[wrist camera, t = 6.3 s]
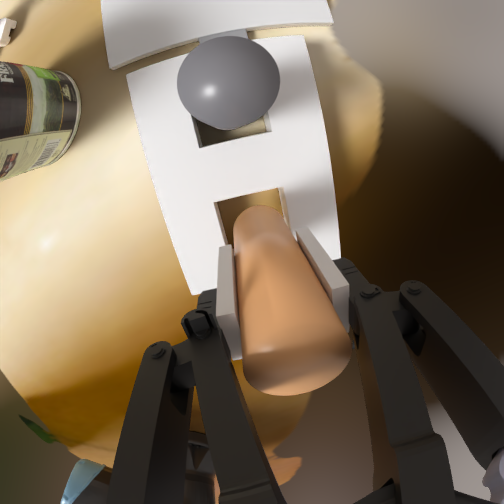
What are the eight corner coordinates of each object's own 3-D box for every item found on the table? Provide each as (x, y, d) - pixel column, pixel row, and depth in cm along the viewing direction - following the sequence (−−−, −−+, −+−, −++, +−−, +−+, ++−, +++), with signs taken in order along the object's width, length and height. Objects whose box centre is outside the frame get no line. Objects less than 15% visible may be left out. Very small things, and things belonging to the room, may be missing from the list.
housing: (330, 246, 27) (341, 260, 24) (195, 278, 27) (192, 295, 24) (294, 45, 18) (303, 34, 16) (137, 80, 18) (125, 74, 16)
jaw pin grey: (255, 124, 21) (289, 117, 10) (209, 135, 21) (189, 139, 10) (245, 82, 20) (267, 29, 8) (199, 92, 20) (168, 50, 8)
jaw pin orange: (289, 248, 22) (350, 379, 10) (239, 259, 22) (255, 403, 10) (280, 199, 20) (353, 308, 8) (227, 212, 20) (229, 339, 8)
